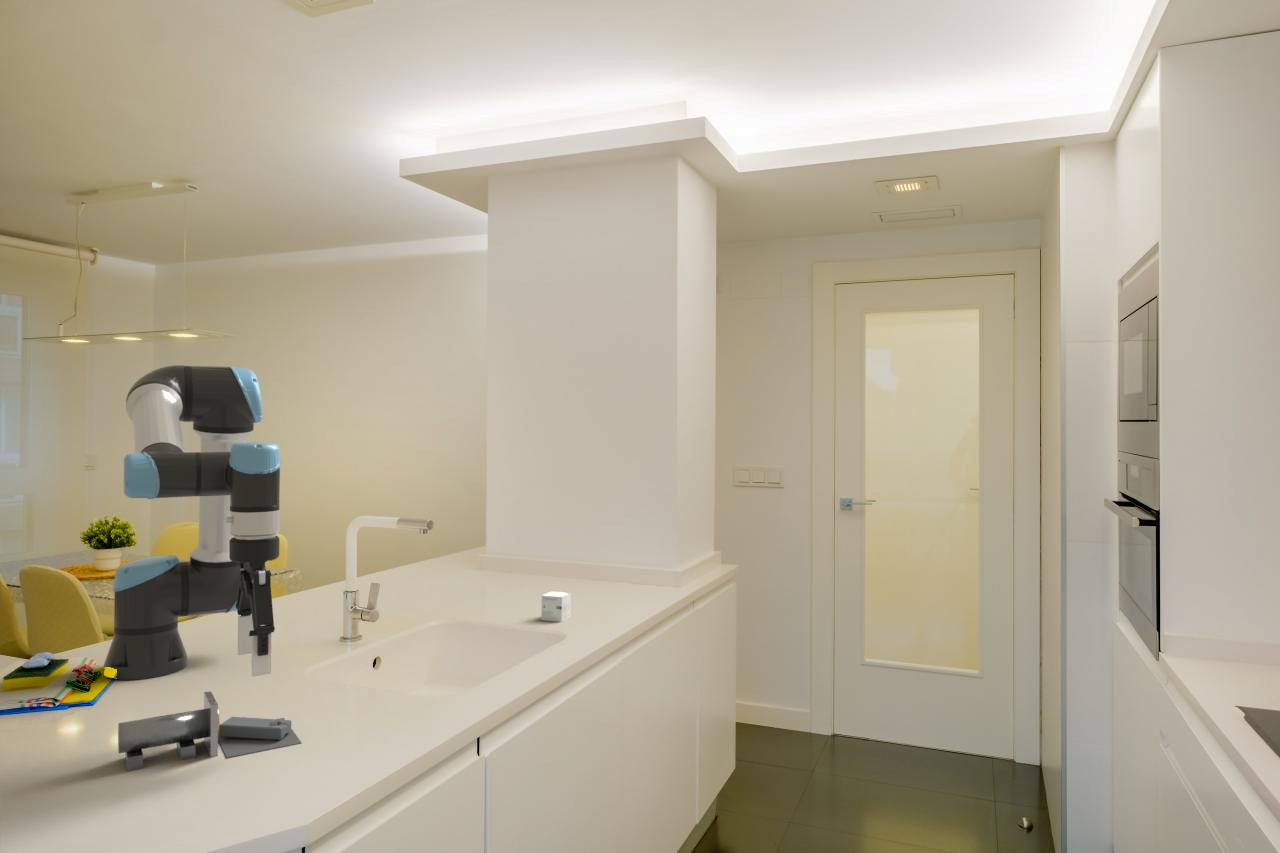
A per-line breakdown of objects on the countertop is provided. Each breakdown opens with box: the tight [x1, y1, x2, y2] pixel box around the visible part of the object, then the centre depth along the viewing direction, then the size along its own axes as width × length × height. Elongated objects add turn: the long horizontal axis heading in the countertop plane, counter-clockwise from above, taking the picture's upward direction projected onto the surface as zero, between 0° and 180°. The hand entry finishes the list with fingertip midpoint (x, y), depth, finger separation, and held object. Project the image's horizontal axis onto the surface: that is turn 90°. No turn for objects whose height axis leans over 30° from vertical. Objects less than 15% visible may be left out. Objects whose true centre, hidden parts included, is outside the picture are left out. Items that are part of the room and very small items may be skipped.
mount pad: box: [218, 717, 302, 759], centre depth 138 cm, size 14×11×1 cm
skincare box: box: [540, 591, 572, 623], centre depth 223 cm, size 6×6×7 cm
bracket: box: [219, 716, 292, 740], centre depth 138 cm, size 4×10×2 cm, turn 87°
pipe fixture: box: [117, 691, 220, 772], centre depth 130 cm, size 8×13×8 cm, turn 124°
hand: (253, 663), depth 138 cm, fingers open, 13 cm apart
